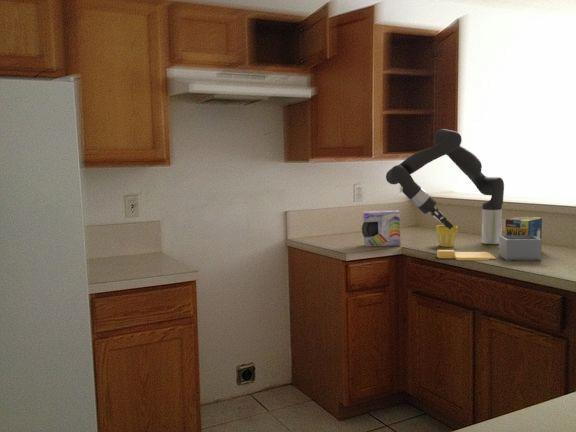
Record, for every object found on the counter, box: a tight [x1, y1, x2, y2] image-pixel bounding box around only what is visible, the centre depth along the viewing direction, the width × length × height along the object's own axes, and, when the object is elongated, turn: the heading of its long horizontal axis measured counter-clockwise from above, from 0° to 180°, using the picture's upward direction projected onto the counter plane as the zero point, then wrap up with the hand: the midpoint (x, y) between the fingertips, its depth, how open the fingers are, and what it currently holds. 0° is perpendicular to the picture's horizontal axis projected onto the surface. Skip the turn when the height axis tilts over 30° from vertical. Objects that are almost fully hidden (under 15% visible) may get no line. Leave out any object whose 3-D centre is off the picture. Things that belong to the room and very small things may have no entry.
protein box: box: [504, 215, 543, 239], centre depth 250 cm, size 10×15×16 cm
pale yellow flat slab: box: [436, 249, 497, 261], centre depth 242 cm, size 14×23×3 cm, turn 84°
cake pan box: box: [361, 209, 402, 247], centre depth 278 cm, size 19×5×18 cm, turn 82°
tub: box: [498, 235, 543, 261], centre depth 236 cm, size 12×14×9 cm
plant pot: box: [435, 224, 459, 248], centre depth 273 cm, size 10×10×10 cm
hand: (449, 226), depth 242 cm, fingers open, 8 cm apart
